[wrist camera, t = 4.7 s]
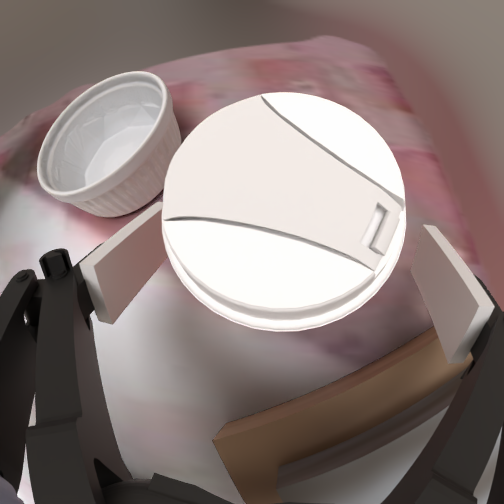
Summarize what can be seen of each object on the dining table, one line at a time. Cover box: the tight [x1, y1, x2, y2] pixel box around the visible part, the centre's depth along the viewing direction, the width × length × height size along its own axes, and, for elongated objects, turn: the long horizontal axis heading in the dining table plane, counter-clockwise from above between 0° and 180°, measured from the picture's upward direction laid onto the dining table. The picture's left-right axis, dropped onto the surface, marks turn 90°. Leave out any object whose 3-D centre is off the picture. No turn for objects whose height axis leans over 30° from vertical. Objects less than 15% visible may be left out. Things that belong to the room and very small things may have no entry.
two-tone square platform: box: [212, 326, 502, 504], centre depth 12 cm, size 20×20×7 cm
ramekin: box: [37, 71, 182, 217], centre depth 23 cm, size 13×13×7 cm
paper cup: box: [162, 92, 406, 332], centre depth 14 cm, size 8×8×14 cm
